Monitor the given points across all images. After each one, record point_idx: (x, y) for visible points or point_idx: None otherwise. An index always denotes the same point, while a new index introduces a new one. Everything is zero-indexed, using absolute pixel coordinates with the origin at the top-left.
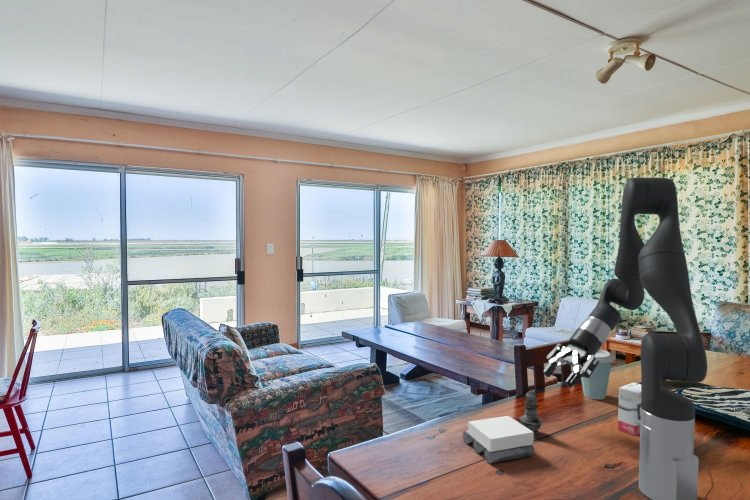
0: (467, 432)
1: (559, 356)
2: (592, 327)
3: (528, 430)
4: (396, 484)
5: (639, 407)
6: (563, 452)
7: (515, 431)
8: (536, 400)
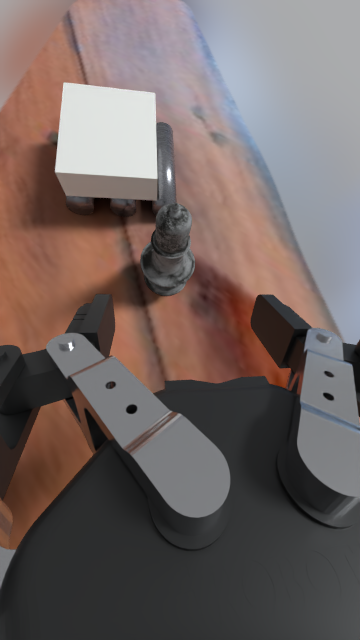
0: (159, 123)
1: (307, 361)
2: None
3: (67, 167)
4: (84, 21)
5: None
6: (66, 279)
7: (74, 141)
8: (158, 235)
